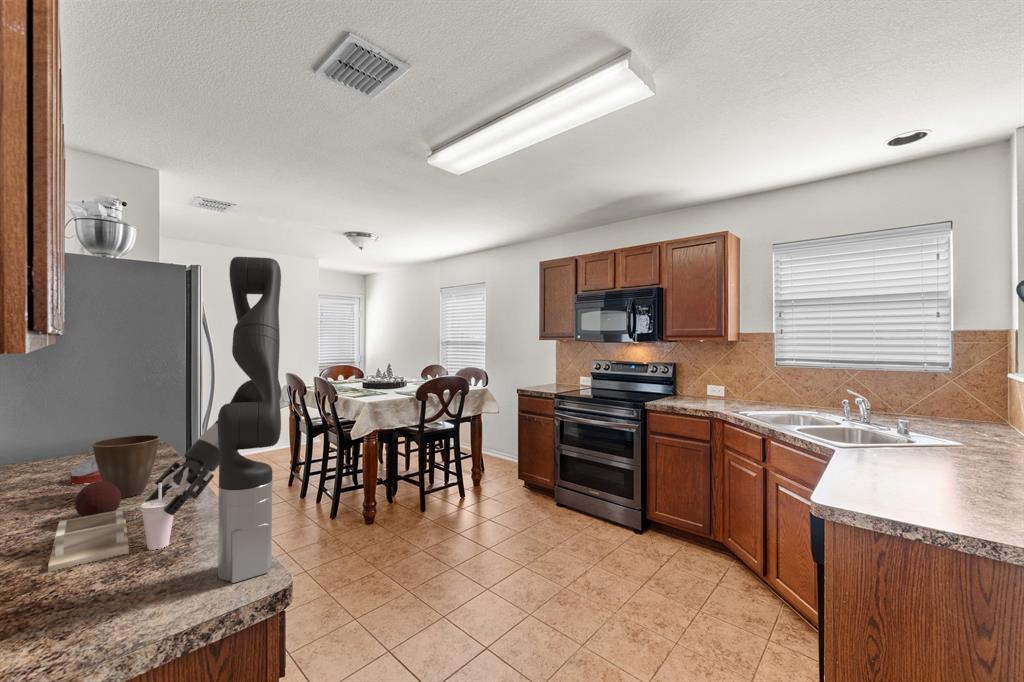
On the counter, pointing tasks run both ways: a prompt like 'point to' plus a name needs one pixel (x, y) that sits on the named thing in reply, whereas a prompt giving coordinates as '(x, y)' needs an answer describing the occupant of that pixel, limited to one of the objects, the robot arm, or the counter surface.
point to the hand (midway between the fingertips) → (157, 509)
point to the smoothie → (157, 521)
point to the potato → (97, 499)
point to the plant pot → (127, 462)
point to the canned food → (85, 472)
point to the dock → (89, 539)
